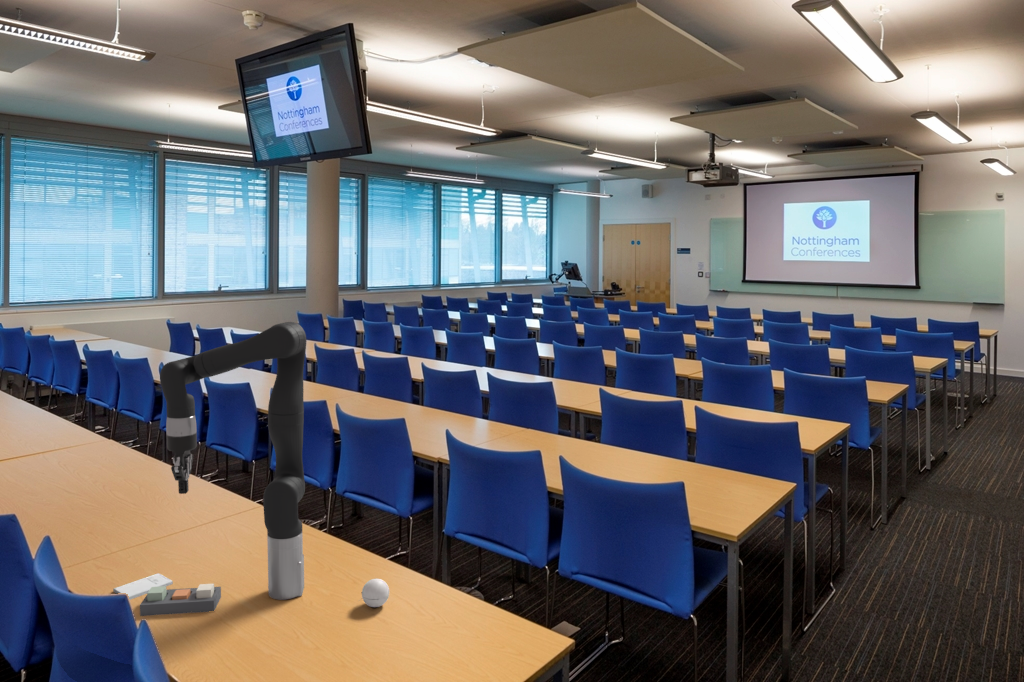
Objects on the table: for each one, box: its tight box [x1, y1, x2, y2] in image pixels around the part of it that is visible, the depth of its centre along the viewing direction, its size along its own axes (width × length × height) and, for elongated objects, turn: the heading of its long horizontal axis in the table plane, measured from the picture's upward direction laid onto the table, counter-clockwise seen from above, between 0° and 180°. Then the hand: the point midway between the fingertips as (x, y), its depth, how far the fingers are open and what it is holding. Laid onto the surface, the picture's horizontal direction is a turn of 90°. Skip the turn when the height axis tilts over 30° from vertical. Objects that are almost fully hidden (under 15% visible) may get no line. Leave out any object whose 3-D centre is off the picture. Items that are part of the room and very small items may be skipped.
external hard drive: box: [112, 573, 173, 601], centre depth 197 cm, size 2×8×12 cm
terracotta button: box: [172, 588, 191, 600], centre depth 187 cm, size 4×4×3 cm
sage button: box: [146, 586, 167, 601], centre depth 185 cm, size 4×4×3 cm
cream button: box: [196, 583, 215, 598], centre depth 188 cm, size 4×4×3 cm
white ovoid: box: [359, 578, 390, 608], centre depth 188 cm, size 10×7×7 cm
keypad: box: [139, 586, 222, 617], centre depth 187 cm, size 18×8×3 cm, turn 100°
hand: (183, 492), depth 196 cm, fingers closed
